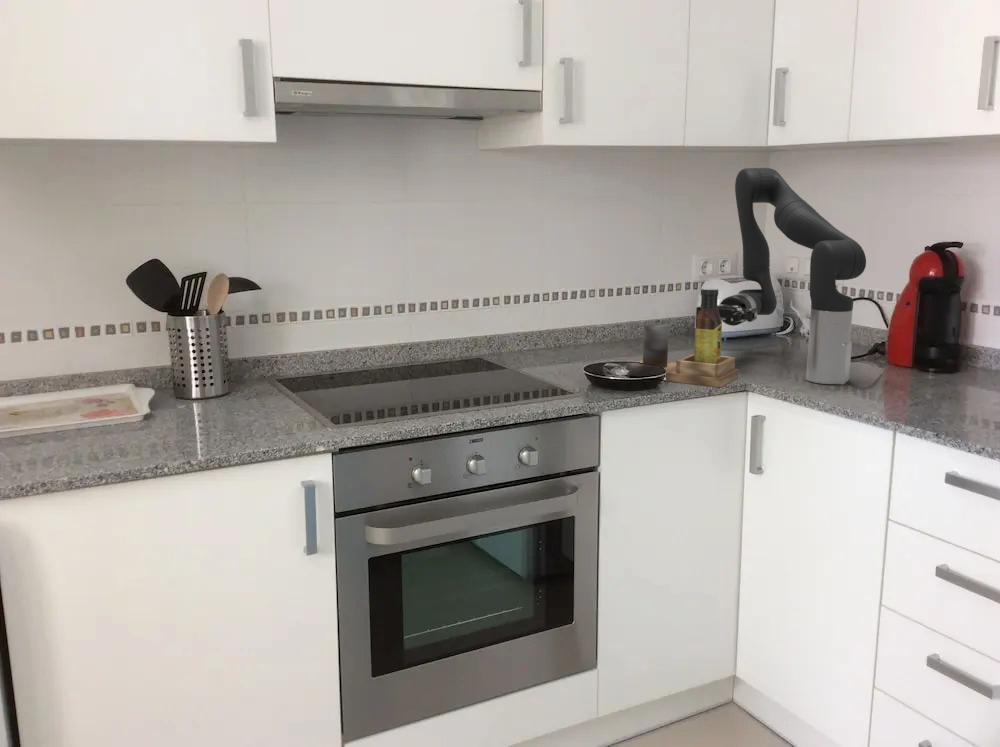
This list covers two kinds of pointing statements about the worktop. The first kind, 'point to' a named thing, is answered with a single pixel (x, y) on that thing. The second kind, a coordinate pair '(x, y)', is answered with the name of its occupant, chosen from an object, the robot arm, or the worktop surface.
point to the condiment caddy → (684, 361)
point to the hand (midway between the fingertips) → (717, 316)
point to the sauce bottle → (708, 329)
